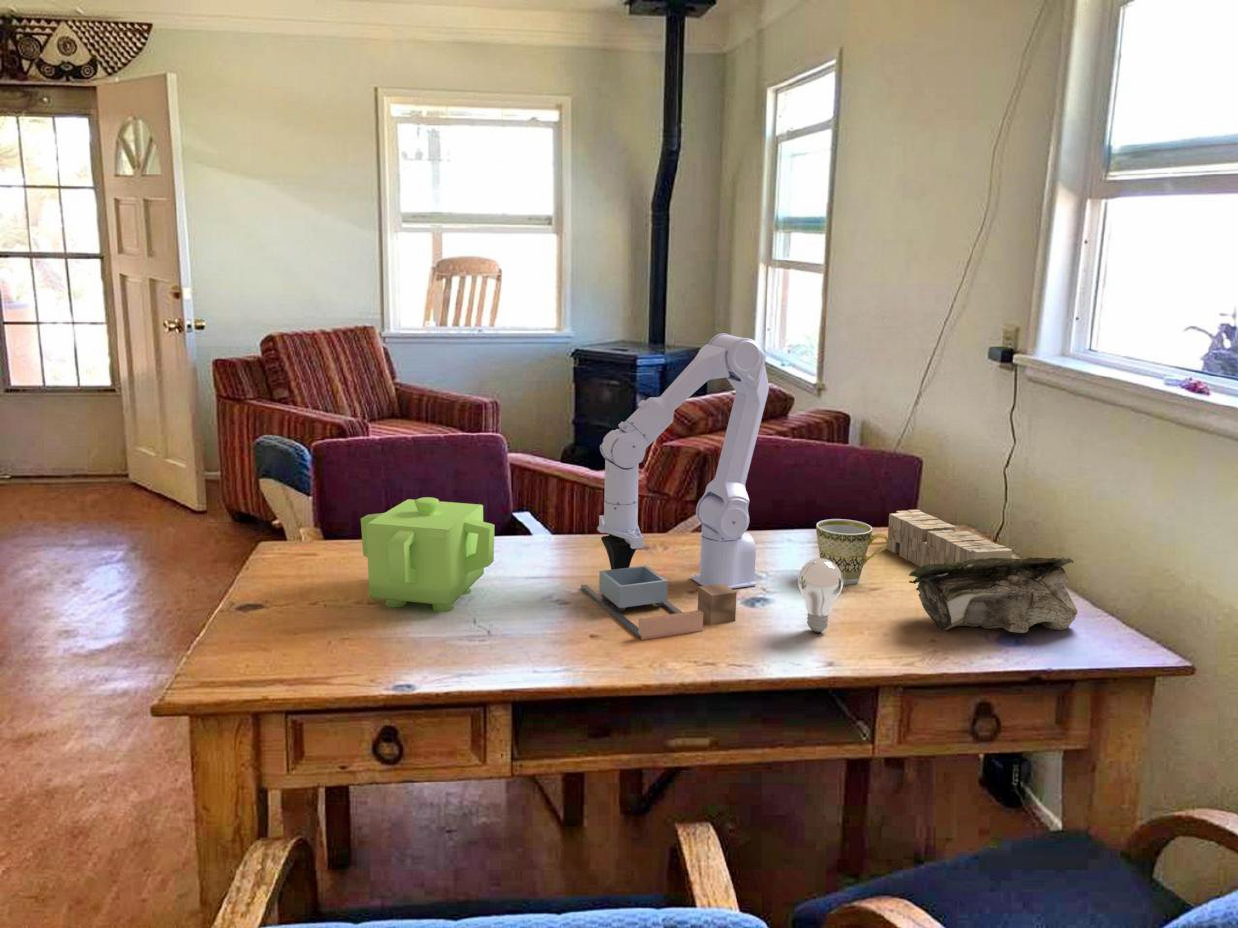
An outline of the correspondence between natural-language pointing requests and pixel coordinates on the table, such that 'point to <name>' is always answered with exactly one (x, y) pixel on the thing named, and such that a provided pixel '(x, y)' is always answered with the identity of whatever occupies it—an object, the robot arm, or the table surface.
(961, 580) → the driftwood chunk
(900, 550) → the block tower
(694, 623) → the rails
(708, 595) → the walnut block
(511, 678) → the table surface
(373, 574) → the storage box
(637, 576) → the grey open tray bin
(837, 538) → the ceramic cup
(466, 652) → the table surface
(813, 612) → the light bulb
